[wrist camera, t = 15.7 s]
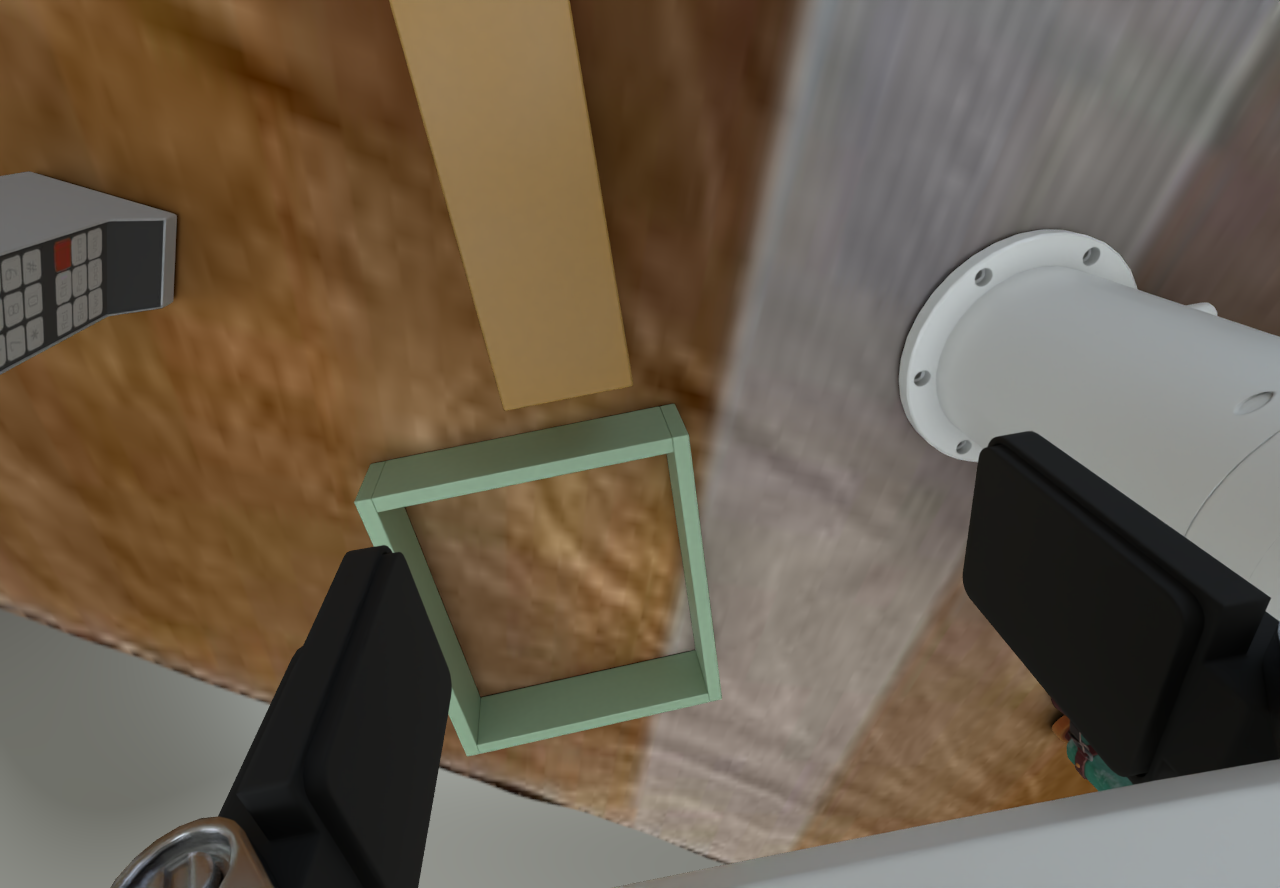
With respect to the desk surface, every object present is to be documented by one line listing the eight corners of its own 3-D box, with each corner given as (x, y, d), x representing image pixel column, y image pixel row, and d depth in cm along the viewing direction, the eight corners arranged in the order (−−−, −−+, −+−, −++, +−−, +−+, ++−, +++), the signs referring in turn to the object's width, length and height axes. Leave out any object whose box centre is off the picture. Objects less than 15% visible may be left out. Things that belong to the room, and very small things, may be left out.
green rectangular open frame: (674, 402, 33) (688, 434, 30) (708, 655, 43) (722, 699, 40) (370, 463, 33) (353, 502, 30) (471, 708, 42) (467, 756, 39)
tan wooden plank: (557, -24, 24) (562, -44, 20) (621, 350, 32) (633, 386, 28) (407, 0, 24) (383, -16, 20) (507, 372, 31) (503, 412, 28)
